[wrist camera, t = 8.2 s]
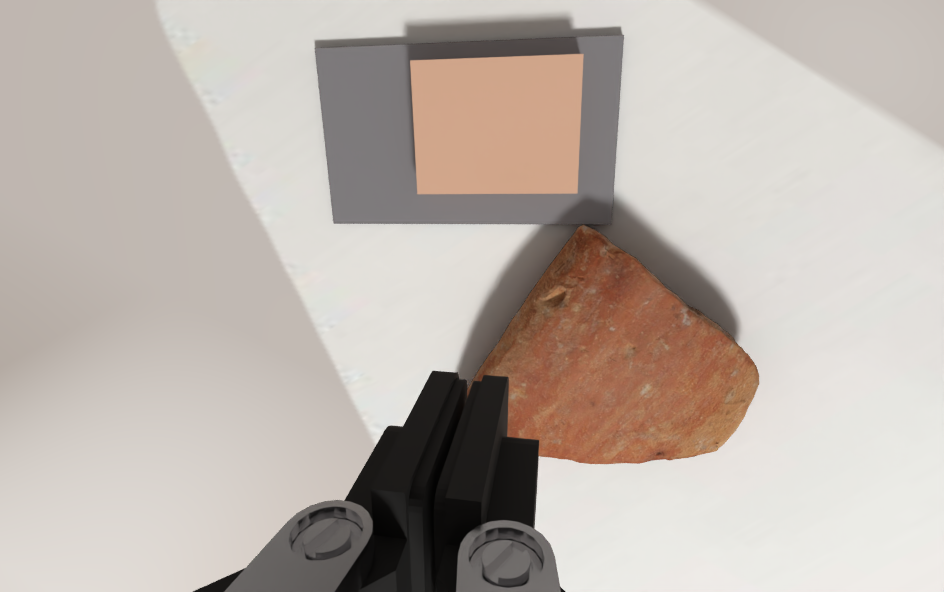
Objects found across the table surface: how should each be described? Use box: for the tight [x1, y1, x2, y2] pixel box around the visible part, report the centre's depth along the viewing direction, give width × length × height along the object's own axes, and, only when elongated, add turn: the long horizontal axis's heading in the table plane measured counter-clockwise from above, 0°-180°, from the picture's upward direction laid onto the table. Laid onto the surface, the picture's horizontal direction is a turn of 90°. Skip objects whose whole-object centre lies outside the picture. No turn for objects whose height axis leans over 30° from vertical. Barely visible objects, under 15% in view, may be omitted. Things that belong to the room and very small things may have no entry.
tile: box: [410, 54, 584, 194], centre depth 28 cm, size 2×7×9 cm
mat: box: [315, 35, 624, 224], centre depth 30 cm, size 17×10×1 cm, turn 91°
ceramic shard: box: [467, 225, 759, 464], centre depth 32 cm, size 15×6×15 cm
